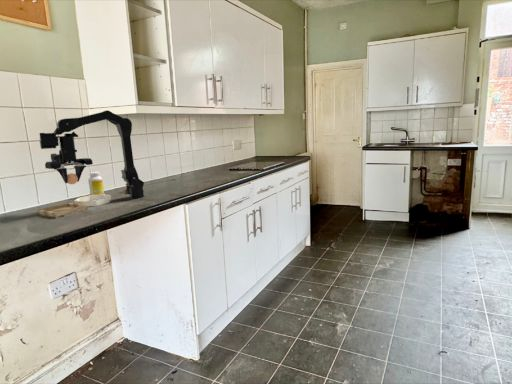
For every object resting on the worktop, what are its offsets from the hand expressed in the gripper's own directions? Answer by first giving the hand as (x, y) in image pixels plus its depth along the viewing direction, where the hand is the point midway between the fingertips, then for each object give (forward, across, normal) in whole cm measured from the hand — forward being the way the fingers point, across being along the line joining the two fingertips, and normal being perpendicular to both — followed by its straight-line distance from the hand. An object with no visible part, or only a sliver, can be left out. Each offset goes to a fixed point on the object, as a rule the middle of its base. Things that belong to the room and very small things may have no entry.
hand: (72, 182), depth 159 cm
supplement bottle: (+12, -21, -16) cm, 29 cm away
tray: (+12, +6, +2) cm, 14 cm away
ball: (+1, 0, 0) cm, 1 cm away
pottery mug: (+12, -37, -5) cm, 39 cm away
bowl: (+12, -10, -1) cm, 15 cm away
